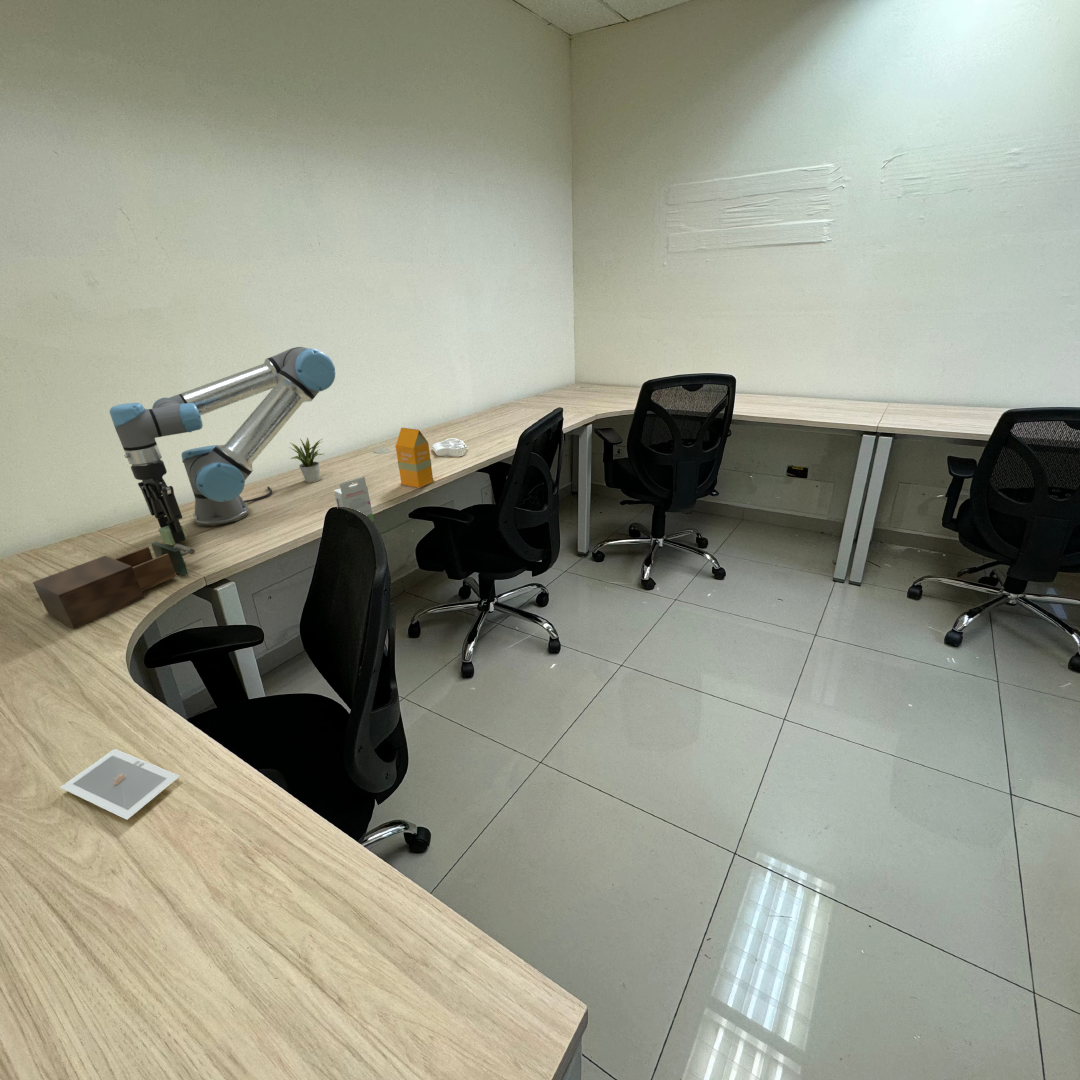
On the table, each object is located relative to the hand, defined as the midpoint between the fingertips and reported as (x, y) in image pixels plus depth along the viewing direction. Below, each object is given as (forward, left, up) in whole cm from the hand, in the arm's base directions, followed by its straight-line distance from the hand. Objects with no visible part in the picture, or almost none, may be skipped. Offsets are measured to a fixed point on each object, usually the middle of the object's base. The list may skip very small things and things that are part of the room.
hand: (175, 539), depth 159 cm
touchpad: (+53, +81, -2) cm, 96 cm away
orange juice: (-71, +29, -2) cm, 76 cm away
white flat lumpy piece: (-109, +15, -2) cm, 110 cm away
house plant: (-57, -9, -2) cm, 57 cm away
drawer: (+15, +18, -1) cm, 23 cm away
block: (0, 0, 0) cm, 0 cm away
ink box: (-34, +38, -2) cm, 51 cm away
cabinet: (+28, +18, -1) cm, 34 cm away
